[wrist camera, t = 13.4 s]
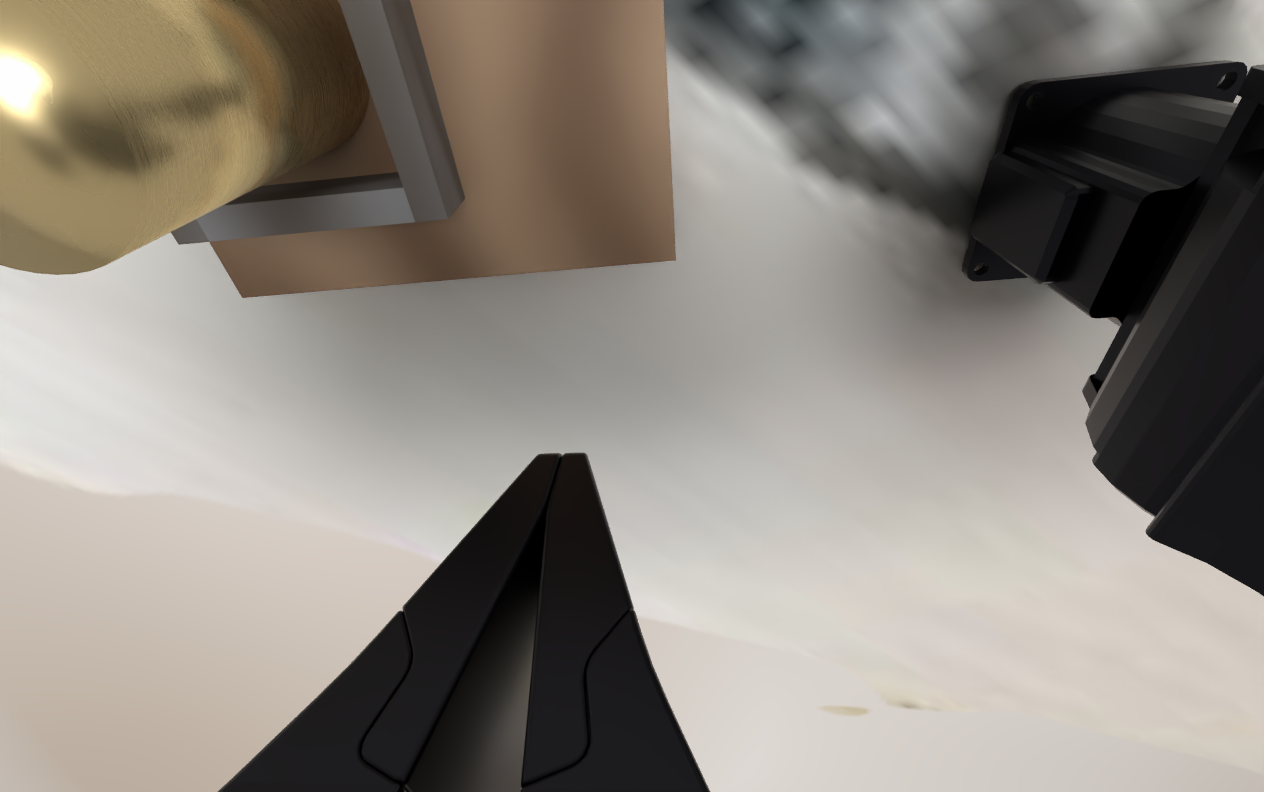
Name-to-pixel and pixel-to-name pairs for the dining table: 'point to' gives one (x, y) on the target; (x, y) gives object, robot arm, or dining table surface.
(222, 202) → the solid brass cylinder
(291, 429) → the dining table surface
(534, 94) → the jig
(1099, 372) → the robot arm
